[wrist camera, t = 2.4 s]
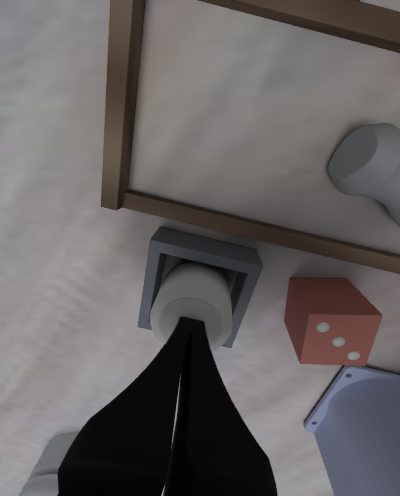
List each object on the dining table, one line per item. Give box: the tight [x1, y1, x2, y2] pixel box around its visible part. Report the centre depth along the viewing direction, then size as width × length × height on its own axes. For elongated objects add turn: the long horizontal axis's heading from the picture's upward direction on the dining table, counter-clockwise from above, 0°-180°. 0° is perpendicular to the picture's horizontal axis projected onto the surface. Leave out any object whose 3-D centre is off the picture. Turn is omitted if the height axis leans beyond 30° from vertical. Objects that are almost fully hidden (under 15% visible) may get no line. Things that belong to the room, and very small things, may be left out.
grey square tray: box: [138, 227, 263, 348], centre depth 16 cm, size 7×7×2 cm
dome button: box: [150, 262, 233, 351], centre depth 14 cm, size 5×5×3 cm
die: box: [284, 278, 383, 366], centre depth 16 cm, size 4×4×4 cm
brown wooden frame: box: [101, 0, 400, 274], centre depth 12 cm, size 13×20×3 cm, turn 77°
